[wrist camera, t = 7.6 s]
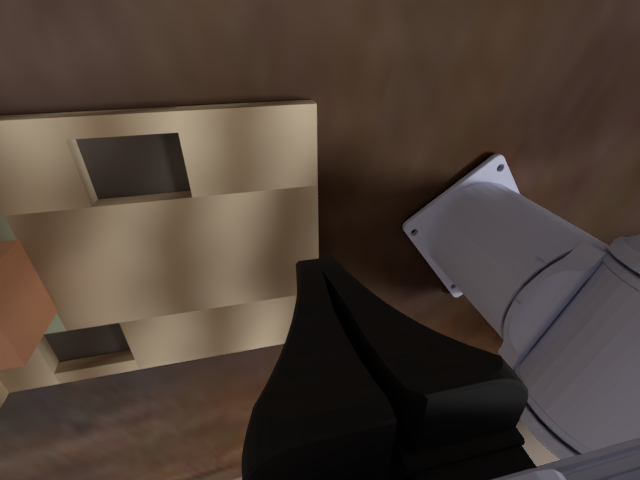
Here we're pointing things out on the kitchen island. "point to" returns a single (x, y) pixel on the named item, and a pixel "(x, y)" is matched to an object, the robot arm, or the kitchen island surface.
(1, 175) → the box
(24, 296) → the rust block
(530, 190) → the kitchen island surface
